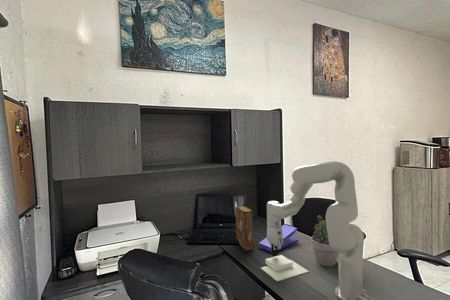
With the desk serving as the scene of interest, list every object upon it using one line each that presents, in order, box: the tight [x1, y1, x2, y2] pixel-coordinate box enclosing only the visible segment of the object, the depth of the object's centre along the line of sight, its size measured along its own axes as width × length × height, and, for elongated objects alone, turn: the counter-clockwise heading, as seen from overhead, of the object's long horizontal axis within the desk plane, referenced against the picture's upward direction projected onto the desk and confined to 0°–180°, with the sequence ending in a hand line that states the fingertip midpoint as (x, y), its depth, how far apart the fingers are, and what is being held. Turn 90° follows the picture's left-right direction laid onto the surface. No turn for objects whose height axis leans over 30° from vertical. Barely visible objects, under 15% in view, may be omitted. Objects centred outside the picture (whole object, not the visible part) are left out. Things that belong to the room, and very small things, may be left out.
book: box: [234, 205, 254, 251], centre depth 171 cm, size 16×6×25 cm, turn 21°
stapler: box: [258, 224, 299, 254], centre depth 171 cm, size 12×28×10 cm, turn 130°
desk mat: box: [260, 259, 310, 283], centre depth 138 cm, size 15×20×1 cm
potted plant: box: [310, 214, 338, 267], centre depth 144 cm, size 18×20×25 cm
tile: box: [264, 254, 293, 272], centre depth 142 cm, size 3×11×10 cm
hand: (274, 255), depth 145 cm, fingers closed
